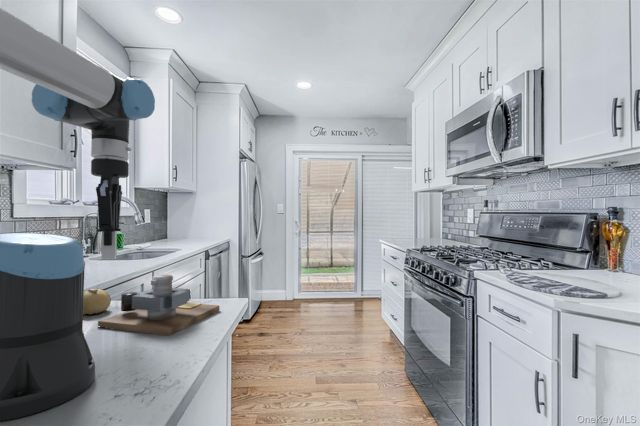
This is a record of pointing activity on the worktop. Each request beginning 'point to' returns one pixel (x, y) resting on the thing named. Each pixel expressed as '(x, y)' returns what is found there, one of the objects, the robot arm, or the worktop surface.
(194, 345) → the worktop surface
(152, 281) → the base
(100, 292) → the onion
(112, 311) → the worktop surface
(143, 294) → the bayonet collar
